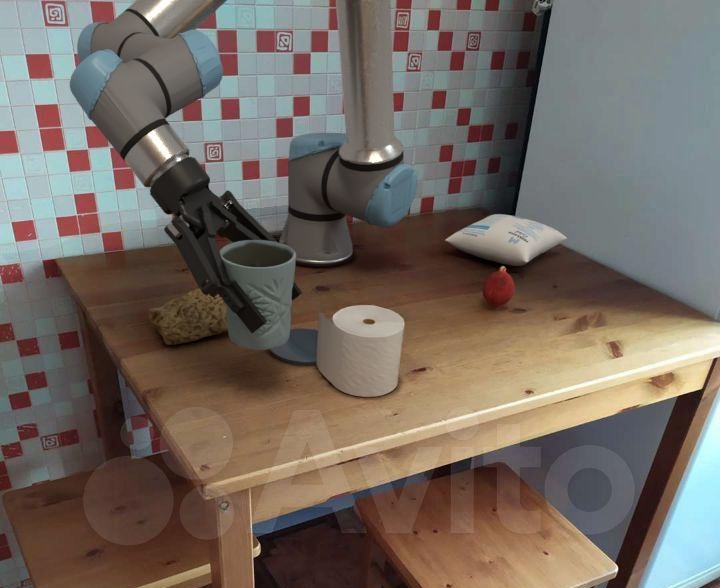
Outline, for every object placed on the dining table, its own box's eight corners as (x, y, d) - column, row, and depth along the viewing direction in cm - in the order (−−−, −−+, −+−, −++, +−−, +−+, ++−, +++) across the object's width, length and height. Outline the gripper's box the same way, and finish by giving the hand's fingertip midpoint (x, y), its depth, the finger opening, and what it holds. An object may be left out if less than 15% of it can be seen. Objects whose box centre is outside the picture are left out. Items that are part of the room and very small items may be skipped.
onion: (509, 316, 139) (518, 275, 134) (478, 312, 140) (486, 270, 135) (510, 304, 144) (519, 263, 139) (480, 299, 145) (488, 259, 140)
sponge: (176, 363, 119) (286, 316, 126) (158, 317, 115) (273, 271, 121) (151, 341, 129) (254, 299, 136) (134, 298, 125) (241, 257, 131)
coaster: (255, 353, 121) (255, 350, 121) (288, 325, 130) (288, 322, 129) (321, 371, 118) (321, 368, 118) (350, 342, 127) (350, 338, 126)
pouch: (493, 199, 170) (448, 216, 156) (571, 224, 162) (532, 244, 148) (485, 234, 174) (441, 254, 161) (561, 260, 167) (522, 282, 153)
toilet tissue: (405, 396, 114) (413, 335, 108) (327, 400, 111) (330, 338, 105) (388, 361, 122) (394, 303, 116) (315, 364, 120) (317, 305, 114)
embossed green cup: (237, 357, 101) (234, 271, 94) (212, 325, 108) (208, 242, 101) (306, 345, 106) (308, 262, 98) (278, 314, 112) (278, 235, 105)
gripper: (199, 169, 109) (296, 296, 114) (100, 213, 92) (219, 359, 97) (230, 136, 104) (330, 270, 110) (132, 176, 87) (255, 332, 93)
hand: (278, 312), depth 104 cm, fingers closed on embossed green cup, 10 cm apart
